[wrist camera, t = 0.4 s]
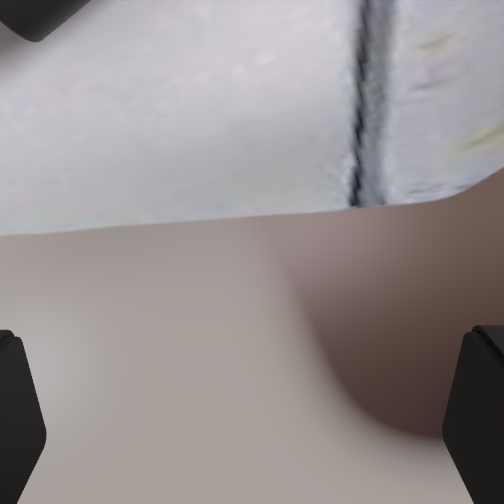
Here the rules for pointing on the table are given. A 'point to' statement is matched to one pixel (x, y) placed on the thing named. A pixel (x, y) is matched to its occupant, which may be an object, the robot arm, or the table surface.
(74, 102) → the table surface
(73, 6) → the end cap
